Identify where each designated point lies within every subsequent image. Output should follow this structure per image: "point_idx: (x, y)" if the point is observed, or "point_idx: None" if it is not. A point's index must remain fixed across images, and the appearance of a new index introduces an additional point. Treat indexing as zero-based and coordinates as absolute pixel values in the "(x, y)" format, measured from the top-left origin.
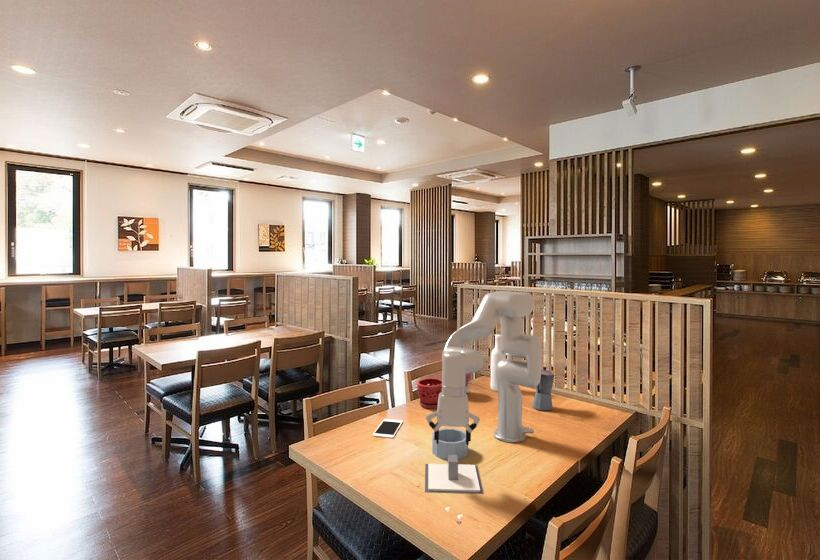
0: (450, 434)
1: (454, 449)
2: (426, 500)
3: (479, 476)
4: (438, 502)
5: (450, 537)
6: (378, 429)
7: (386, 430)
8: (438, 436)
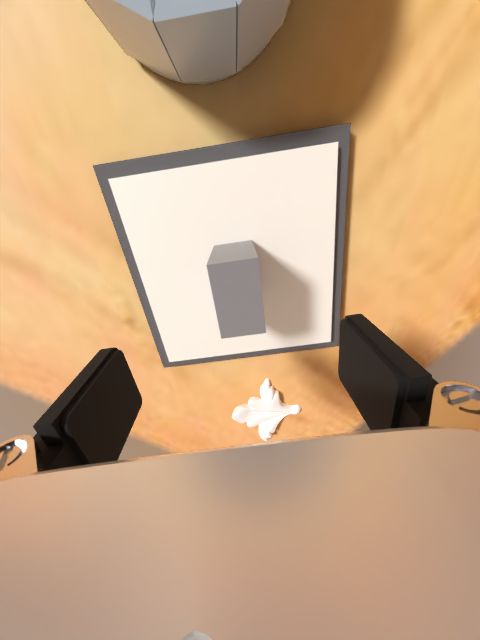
0: None
1: (226, 40)
2: (177, 379)
3: (342, 240)
4: (209, 381)
5: None
6: None
7: None
8: (120, 448)
